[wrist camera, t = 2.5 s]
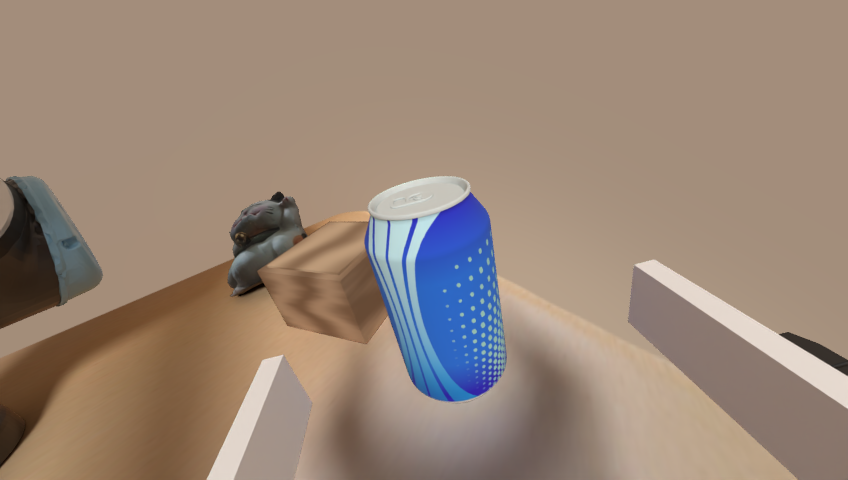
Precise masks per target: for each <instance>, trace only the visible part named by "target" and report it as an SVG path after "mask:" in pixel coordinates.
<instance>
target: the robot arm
mask: <svg viewBox="0 0 848 480" xmlns="http://www.w3.org/2000/svg"><path fill="white" fill-rule="evenodd" d="M102 276H103V274H102V270H101V268H100V266H99V264H98V262H97V260H96V258H95V257H94V255H93V253H92V252H91V250H90V248H89V247H88V245H87V243H86V242H85V240H84V238H83V237H82V235H81V234H80V232H79V231H78V229H77V227H76V226H75V224H74V223H73V221H72V220H71V218H70V217H69V215H68V214H67V212H66V211H65V209H64V208H63V207H62V205H61V204H60V202H59V201H58V199H57V198H56V196H55V195H54V193H53V192H52V191H51V190H50V188H49V187H48V185H47V184H46V183H45V182H44V181H43V180H41V179H40V178H37V177H33V176H27V177H16V176H14V177H8V178H7V179H6V181H3V180H2V179H1V178H0V329H1V328H4V327H6V326H9V325H11V324H13V323H16V322H18V321H20V320H23V319H25V318H27V317H30V316H32V315H35V314H37V313H40V312H42V311H45V310H47V309H50V308H52V307H54V306H61V305H64V304H65V303H67V301H68V300H70V299H72V298H74V297H76V296H78V295H81V294H83V293H85V292H87V291H89V290H91V289H93V288H95V287H96V286H97V285H98V284H99V283H100V281H101V280H102ZM628 322H629V323H630V324H631V325H632V326H633V327H634V328H635V329H636V330H638V331H639V332H640V333H641V334H642V335H643V336H644V337H645V338H646V339H647V340H648V341H649V342H650V343H652V344H653V345H654V346H655V347H656V348H657V349H658V350H659V351H660V352H661V353H662V354H663V355H665V356H666V357H667V358H668V359H669V360H670V361H671V362H672V363H673V364H674V365H675V366H676V367H677V368H679V369H680V370H681V371H682V372H683V373H684V374H685V375H686V376H687V377H688V378H689V379H690V380H692V381H693V382H694V383H695V384H696V385H697V386H698V387H699V388H700V389H701V390H702V391H703V392H704V393H706V394H707V395H708V396H709V397H710V398H711V399H712V400H713V401H714V402H715V403H716V404H717V405H719V406H720V407H721V408H722V409H723V410H724V411H725V412H726V413H727V414H728V415H729V416H730V417H731V418H733V419H734V420H735V421H736V422H737V423H738V424H739V425H740V426H741V427H742V428H743V429H744V430H746V431H747V432H748V433H749V434H750V435H751V436H752V437H753V438H754V439H755V440H756V441H757V442H759V443H760V444H761V445H762V446H763V447H764V448H765V449H766V450H767V451H768V452H769V453H770V454H771V455H773V456H774V457H775V458H776V459H777V460H778V461H779V462H780V463H781V464H782V465H783V466H784V467H786V468H787V469H788V470H789V471H790V472H791V473H792V474H793V475H794V476H795V477H796V478H797V479H798V480H848V360H847V359H845V358H843V357H842V356H839V355H838V354H836V353H834V352H832V351H831V350H829V349H827V348H826V347H824V346H822V345H820V344H818V343H816V342H813V341H810V340H808V339H805V338H802V337H800V336H797V335H794V334H791V333H789V332H787V333H782V334H777V333H775V332H773V331H772V330H770V329H768V328H767V327H765V326H764V325H762V324H760V323H759V322H757V321H755V320H754V319H752V318H750V317H748V316H747V315H745V314H744V313H742V312H740V311H739V310H737V309H735V308H734V307H732V306H730V305H729V304H727V303H725V302H724V301H722V300H720V299H719V298H717V297H715V296H714V295H712V294H710V293H709V292H707V291H706V290H704V289H702V288H701V287H698V286H697V285H696V284H694V283H692V282H690V281H689V280H687V279H686V278H684V277H682V276H681V275H679V274H677V273H676V272H674V271H672V270H671V269H669V268H667V267H666V266H664V265H662V264H661V263H659V262H657V261H656V260H651V261H647V262H643V263H639V264H635V265H634V269H633V279H632V289H631V298H630V307H629V317H628ZM311 407H312V401H311V400H310V398H309V396H308V395H307V393H306V391H305V390H304V388H303V386H302V385H301V383H300V381H299V380H298V378H297V376H296V375H295V373H294V372H293V370H292V368H291V367H290V365H289V363H288V362H287V360H286V358H285V357H284V355H280V356H276V357H272V358H268V359H264V360H262V362H261V365H260V367H259V369H258V371H257V373H256V375H255V377H254V380H253V382H252V384H251V386H250V388H249V390H248V392H247V394H246V397H245V399H244V401H243V403H242V405H241V407H240V409H239V412H238V414H237V416H236V418H235V420H234V422H233V424H232V427H231V429H230V431H229V433H228V435H227V437H226V439H225V441H224V444H223V446H222V448H221V450H220V452H219V454H218V456H217V459H216V461H215V463H214V465H213V467H212V469H211V471H210V474H209V476H208V478H207V480H294V478H295V474H296V470H297V465H298V461H299V457H300V453H301V449H302V445H303V440H304V436H305V432H306V428H307V424H308V420H309V415H310V411H311ZM24 429H25V421H24V419H22V418H21V417H20V416H19V415H17V414H16V413H14V412H13V411H12V410H10V409H9V408H8V407H6V406H3V405H1V404H0V464H1V463H2V462H3V461H4V460H5V459H6V457H7V456H8V455H9V454H10V453H11V451H12V450H13V449H14V447H15V446H16V444H17V443H18V441H19V440H20V438H21V436H22V434H23V432H24Z"/></svg>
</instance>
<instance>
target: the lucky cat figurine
mask: <svg viewBox="0 0 848 480" xmlns="http://www.w3.org/2000/svg"><path fill="white" fill-rule="evenodd" d="M229 233H230V236H231V238H232V240H233V241H234V246H233V253H234V256H235V259H234V261H233V263H232V266H231V268H230V270H229V273H228V284H229V285H230V287H231V288H234V291H233V294H232V295H230V296H231V297H233V296H236V295H238V296H241V295H242V294H243V293H245V292H246V291H247V290H249V289H251V288H253V287H255V286H257V285H259V284H261V283H263V281H262V279H261V277H260V276H259V274H258V272H257V271H258V270H259V269H261V268H262V267H264V266H265V265H267V264H268V263H270V262H271V261H273V260H274V259H275V258H277V257H278V256H280V255H281V254H283V253H284V252H286V251H287V250H289V249H290V248H292V247H293V246H294V245H296V244H297V243H299V242H300V241H302V240H303V239H305V238H306V237H308V235H307V234H306V233H305V231H304V229H303V228H302V224H301V219H300V215H299V209H298V207H297V205H296V203H295V200H294V199H293V197H284V195H283V194H282V193H281V192H277V193H275V195H273V196H272V198H271V200H265V201H259V202H257V203H254V204H251V205H250V206H249V207H247V208H246V209H244V210H242V212H241V215H240V216H239V218H238V219H237V220H236V221H235V222H234V224H233V227H232V229H231V232H229Z"/></svg>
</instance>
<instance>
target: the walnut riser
mask: <svg viewBox="0 0 848 480" xmlns="http://www.w3.org/2000/svg"><path fill="white" fill-rule="evenodd" d="M368 223H369V222H328V223H327V224H325V225H324V226H322V227H321V228H319V229H318V230H316V231H315V232H313V233H312V234H311V235H309V236H308V237H306V238H305V239H303V240H302V241H300V242H299V243H297V244H296V245H294V246H293V247H292V248H290V249H289V250H287V251H286V252H284V253H283V254H281V255H280V256H278V257H277V258H275V259H274V260H273V261H271V262H270V263H268V264H267V265H265V266H264V267H262V268H261V269H259V270H258V271H257V272H258V274H259V276H260V277H261V279H262V281H263V283H264V285H265V286H266V288H267V290H268V292H269V294H270V295H271V297H272V299H273V301H274V303H275V304H276V306H277V308H278V310H279V312H280V313H281V315H282V317H283V319H284V321H285V322H286V324H287V326H291V327H296V328H300V329H304V330H308V331H312V332H317V333H321V334H325V335H329V336H334V337H338V338H342V339H346V340H351V341H355V342H359V343H363V344H367V343H368V341H369V340H370V339H371V337H372V336H373V335H374V333H375V332H376V331H377V329H378V328H379V327H380V325H381V324H382V322H383V321H384V320H385V318H386V317H387V316H388V313H387V310H386V307H385V304H384V301H383V298H382V295H381V292H380V290H379V287H378V284H377V281H376V278H375V275H374V272H373V269H372V266H371V264H370V261H369V258H368V255H367V252H366V249H365V244H364V239H365V234H366V231H367V227H368Z"/></svg>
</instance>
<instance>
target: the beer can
mask: <svg viewBox="0 0 848 480" xmlns="http://www.w3.org/2000/svg"><path fill="white" fill-rule="evenodd" d="M470 189H471V188H470V184H469V183H468V181H466V180H465V179H462V178H459V177H450V176H441V177H431V178H423V179H418V180H414V181H410V182H407V183H403V184H400V185H397V186H395V187H392V188H390V189H388V190H385V191H384V192H382V193H380V194H378V195H377V196H376V197H375V198H373V199H372V200H371V201H370V203H369V204H368V211H369V213H370V215H371V216H370V220H369V223H368V227H367V231H366V234H365V239H364V244H365V249H366V252H367V255H368V258H369V261H370V264H371V266H372V269H373V272H374V275H375V278H376V281H377V284H378V287H379V290H380V292H381V295H382V298H383V301H384V304H385V307H386V310H387V313H388V316H389V318H390V321H391V324H392V327H393V330H394V333H395V336H396V339H397V342H398V344H399V347H400V350H401V353H402V356H403V359H404V362H405V365H406V368H407V370H408V373H409V376H410V378H411V380H412V382H413V384H414V385H415V386H416V387H417V388H418V389H419V390H420V391H421V392H422V393H423V394H425V395H427V396H428V397H430V398H433V399H435V400H439V401H444V402H448V403H464V402H469V401H472V400H474V399H477V398H479V397H480V396H482V395H483V394H485V393H486V392H487V391H489V390H490V389H491V388H492V387H493V386H494V385H495V384H496V383H497V382H498V381H499V379H500V378H501V376H502V374H503V372H504V369H505V366H506V358H507V357H506V347H505V338H504V330H503V322H502V314H501V306H500V298H499V290H498V281H497V273H496V266H495V258H494V250H493V241H492V233H491V225H490V218H489V215H488V213H487V211H486V209H485V208H484V207H483V206H482V205H481V204H480V202H479V201H478V200H477V199H476V198H475V197H474V196H473V194H472V193H471V192H470Z"/></svg>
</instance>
